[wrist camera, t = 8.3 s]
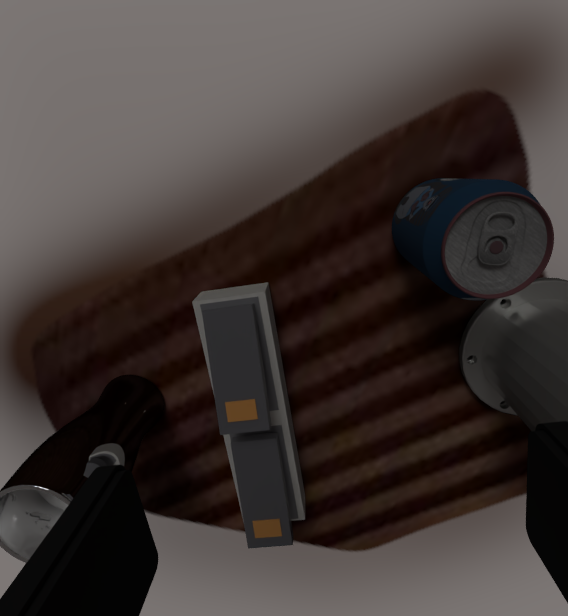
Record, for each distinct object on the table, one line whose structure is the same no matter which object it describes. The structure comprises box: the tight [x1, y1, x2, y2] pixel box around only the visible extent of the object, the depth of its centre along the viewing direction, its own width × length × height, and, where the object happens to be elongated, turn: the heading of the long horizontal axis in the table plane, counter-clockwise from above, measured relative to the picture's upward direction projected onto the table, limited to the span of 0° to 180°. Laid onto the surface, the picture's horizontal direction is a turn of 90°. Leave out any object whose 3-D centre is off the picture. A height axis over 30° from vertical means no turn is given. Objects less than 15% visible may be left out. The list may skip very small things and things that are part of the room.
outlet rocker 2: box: [231, 432, 293, 548], centre depth 36 cm, size 4×10×1 cm, turn 9°
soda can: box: [392, 178, 554, 300], centre depth 27 cm, size 7×7×12 cm
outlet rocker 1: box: [202, 303, 272, 435], centre depth 32 cm, size 4×10×1 cm, turn 9°
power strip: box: [192, 283, 305, 521], centre depth 37 cm, size 23×6×3 cm, turn 9°
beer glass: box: [0, 375, 164, 563], centre depth 33 cm, size 7×7×15 cm
